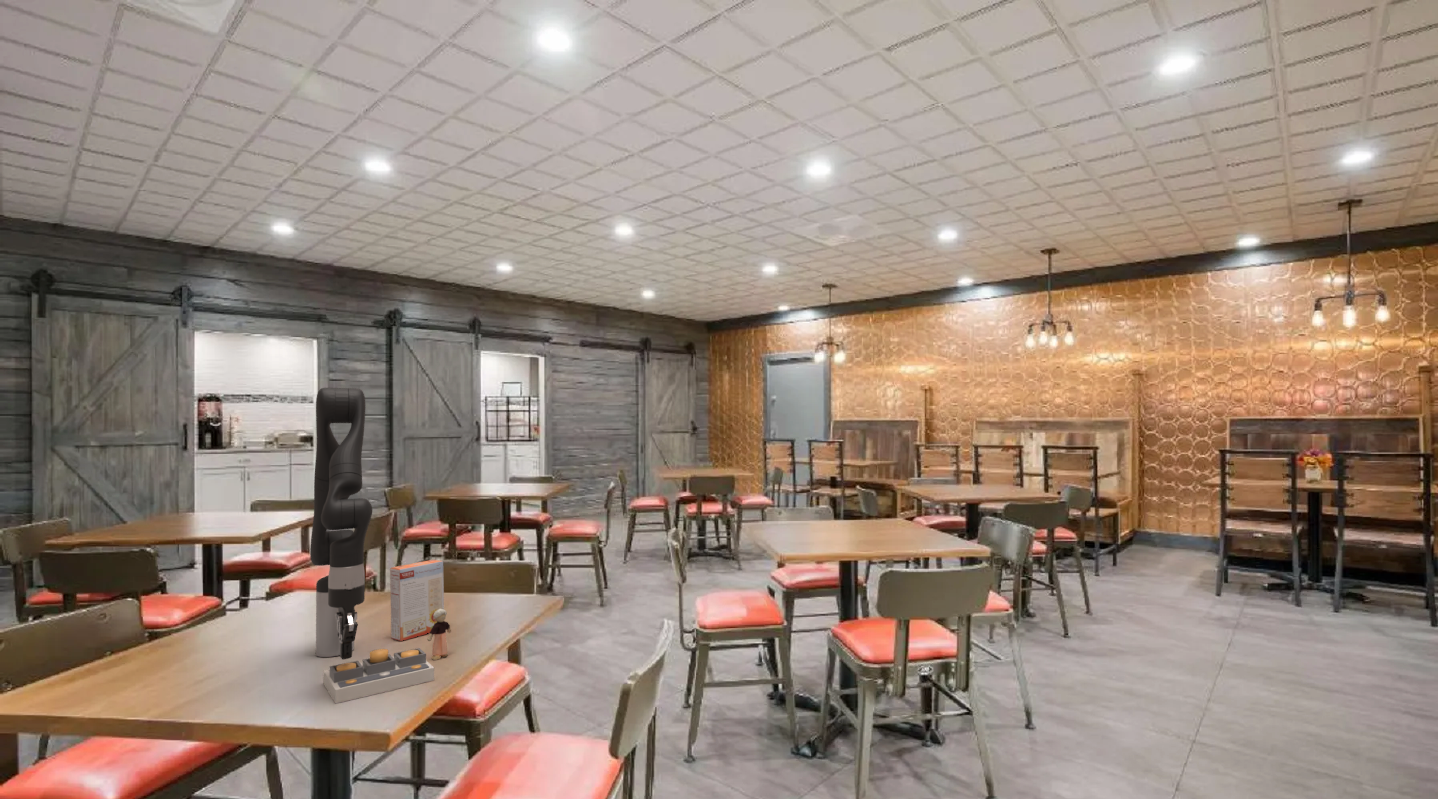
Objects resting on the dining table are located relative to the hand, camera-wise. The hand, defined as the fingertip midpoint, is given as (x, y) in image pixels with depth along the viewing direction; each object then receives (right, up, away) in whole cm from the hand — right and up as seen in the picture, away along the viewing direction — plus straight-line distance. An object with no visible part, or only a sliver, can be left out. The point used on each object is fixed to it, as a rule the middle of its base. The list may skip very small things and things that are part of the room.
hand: (346, 658), depth 158 cm
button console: (+6, -7, +4) cm, 10 cm away
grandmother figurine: (+13, -8, +22) cm, 27 cm away
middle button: (+6, -2, +4) cm, 7 cm away
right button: (+11, -4, +8) cm, 14 cm away
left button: (0, -4, 0) cm, 4 cm away
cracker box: (-2, -9, +42) cm, 43 cm away
